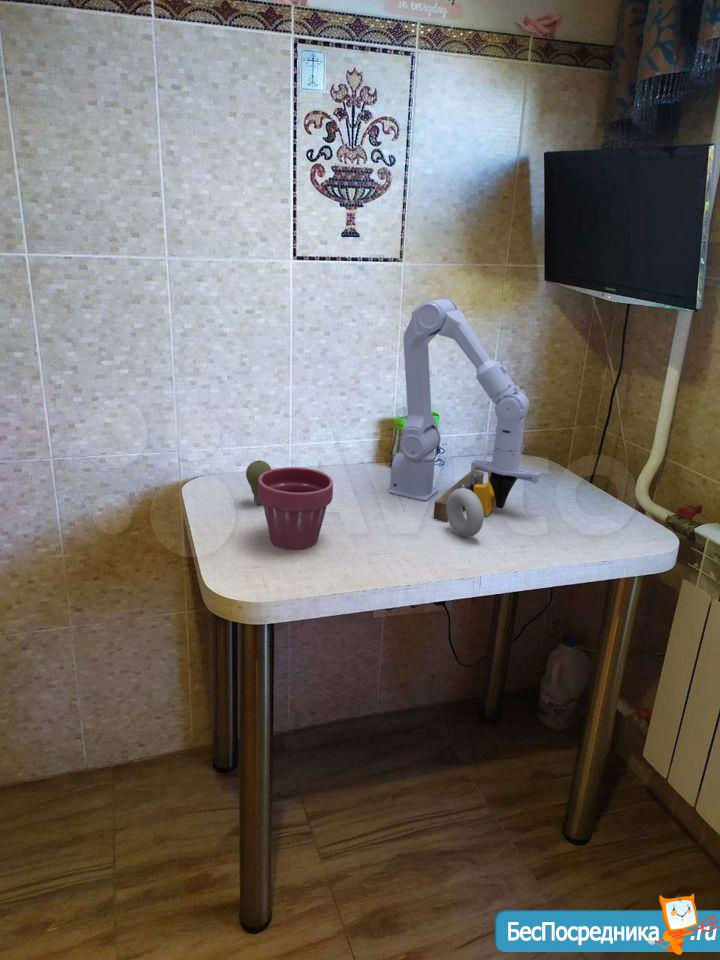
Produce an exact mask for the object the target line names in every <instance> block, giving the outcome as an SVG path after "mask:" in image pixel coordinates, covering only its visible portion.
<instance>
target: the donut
mask: <svg viewBox="0 0 720 960" xmlns="http://www.w3.org/2000/svg"><path fill="white" fill-rule="evenodd" d="M463 506H464V508H465V513H466V517H465V515H464V512H463ZM446 513H447V518H448V521H447V522H448V523H449V526H450V527H451V529H452V530H453V531H454V532H455V533H456V534H457V535H458V536H461V537H464V538H471V537H474V536H476V535H477V534H478V533H479V532H480V531H481V530H482V527H483V524H484V519H485V517H484V512H483V507H482V504H481V502H480V500H479V498H478V497H477V496H476V494H475V493H473V492H472V491H471V490H469V489H465V488H460V489H456V490H455V491H453V492H452V493H451V494H450V496H449V498H448V500H447V505H446Z"/></svg>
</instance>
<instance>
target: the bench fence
mask: <svg viewBox="0 0 720 960" xmlns="http://www.w3.org/2000/svg"><path fill="white" fill-rule="evenodd" d="M484 475H485V472H482V471H477V470H476V471H472V470H470V471H469V472H468V473H467V474H466V475H464V476H463V477H462V478H461V479H459V480H458V481H457V482H456V483H455V484H454V485H453V486H451V487H450V488H448V490H446V491H445V492H444V493H443V494H442V495H441V496H440V497H438V498H437V499H436V500H435V501H434V506H433V520H435V519H437V521H440V520H441V521H440V522H444V521H445V523H447V522H449V521H448V518H447V513H446V505H447V500H448V498H449V496H450V494H451V493H452V492H453V491H455V490H456V489H460V488H465V489H469V490H471V491H472V492H473V493H474V486H475V485H476V484H484ZM464 512H466V510H465V508H464V506H463V513H464Z"/></svg>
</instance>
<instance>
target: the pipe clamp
mask: <svg viewBox="0 0 720 960" xmlns="http://www.w3.org/2000/svg"><path fill="white" fill-rule="evenodd" d="M490 477H491V473H487V482H483V484H476V485H475V486H474V493H475V494H476V496H477V497H478V498H479V500H480V502H481V504H482V507H483V512H484V516H485V517H488V515H489V514H490V513H491V512H492V511H493V510H494V509H495V508H496V500H495V495H494V491H493V488H492V486H491V483H490V481H489V478H490Z"/></svg>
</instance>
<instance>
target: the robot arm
mask: <svg viewBox="0 0 720 960" xmlns="http://www.w3.org/2000/svg"><path fill="white" fill-rule="evenodd" d="M437 335H438V336H441V337H446V338H448V339H453V341H455V342H456V344H457V345H458V347H460V349H461V350H462V352H463V353H464V354H465V356H466V357H467V358H468V360H469V361H470V362H471V364H472V365H473V366H474V367H475V368H476V375H475V378H476V380H477V381H478V383H479V384H480V386H481V387H482V389H483V390H484V391H485V393H486V394H487V396H488V397H489V399H490V400H491V401H492V403H493V404H494V405H495V406H494V414H495V416H496V417H497V421H496V422H497V423H496V427H495V434H494V442H493V444H494V445H493V453H492V460H491V461H487V460H486V461H485V460H476V459H474V460H473V461H472V462H471V466H470V471H479V472H484V473H487V474H488V473H491V477H490V478H489V481H490V483H491V486H492V488H493V491H494V495H495V500H496V506H495V508H497V509H503V508H504V507H505V505H506V501H507V499H508V496H509V494H510V492H511V490H512V488H513V487H514V485H515V484H516V482H517V480H523V481H528V482H531V484H532V483H533V484H537V483H539V479H540V478H539V477H540V472H538V471H535V470H531V469H528V468H526V467H522V466H520V462H521V461H520V460H521V452H522V444H523V438H524V437H523V436H524V432H525V431H524V429H525V428H524V424H525V417H526V416H525V415H526V414H527V412H529V411H528V410H529V409H530V400H529V397H528V394H527V392H525V391H523V390H522V389H520V388H521V387H519V385H515V383H514V382H513V380H512V378H511V377H510V375H509V374H508V373H507V371H508V367H507V366H506V365H505V364H501V363H500V361H497V360H492V359H491V358H490V357H489V355H488V354H487V352H486V351H485V348H484V347H483V346H482V344H481V342H480V341H479V339H478V337H477V336H476V334H475V332H474V331H473V329H472V327H471V326H470V324H469V323H468V320H467V319H466V317H465V314H464V312H462V310H460V309H459V308H458V306H457V304H456V303H455V302H454V300H453V299H451V298H448V297H440V298H437V299H434V300H426V301H423V302H422V303H420V304H419V305H418V306H417V307H416V308H415V309H413V311H412V312H411V319H410V321H409V323H408V325H407V327H406V329H405V332H404V334H403V337H402V339H403V340H402V341H403V342H402V343H403V356H404V372H405V373H404V374H405V375H404V376H405V389H406V390H405V392H406V408H407V417H406V420H405V423H404V425H403V427H402V433H403V434H402V438H401V439H400V443H399V446H400V447H399V448H400V450H401V452H397V453H396V454H395V456H394V457H393V459H392V463H391V468H390V469H391V471H390V472H391V473H390V483H389V485H390V486H389V490H388V493H389V494H393V495H398V496H401V497H407V498H409V499H410V498H411V499H415V500H420V501H422V502H423V501H424V502H427V501H428V500H429V499H430V498H432V497H433V496H434V495H435V494H437V493H438V492H439V488H435V487H434V477H435V476H434V475H435V464H436V452H435V450H436V449H437V448H438V447H439V446H440V443H441V440H442V439H441V432H440V431H439V429H438V427H437V420H436V418H435V416H434V415H433V413H432V397H431V396H432V393H431V379H430V378H431V376H430V375H431V374H430V373H431V372H430V359H429V358H430V356H429V343H430V342H431V341H432V340H433V339H434V338H435V337H436V336H437Z"/></svg>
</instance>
